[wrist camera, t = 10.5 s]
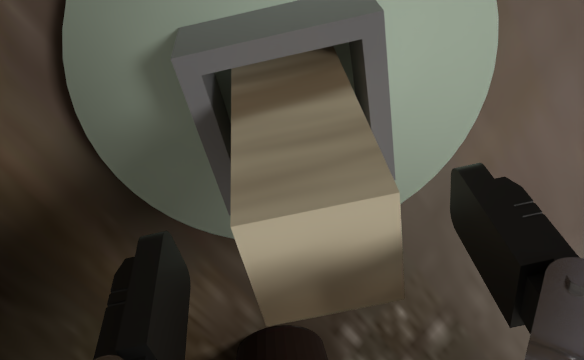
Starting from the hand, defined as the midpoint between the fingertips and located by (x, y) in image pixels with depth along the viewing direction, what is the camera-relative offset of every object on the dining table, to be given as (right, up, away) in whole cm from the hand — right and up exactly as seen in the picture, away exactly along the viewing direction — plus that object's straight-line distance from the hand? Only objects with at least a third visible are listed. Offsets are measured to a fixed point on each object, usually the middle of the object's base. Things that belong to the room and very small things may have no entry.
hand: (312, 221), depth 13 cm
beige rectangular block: (-1, +5, +7) cm, 8 cm away
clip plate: (-1, +6, +8) cm, 10 cm away
